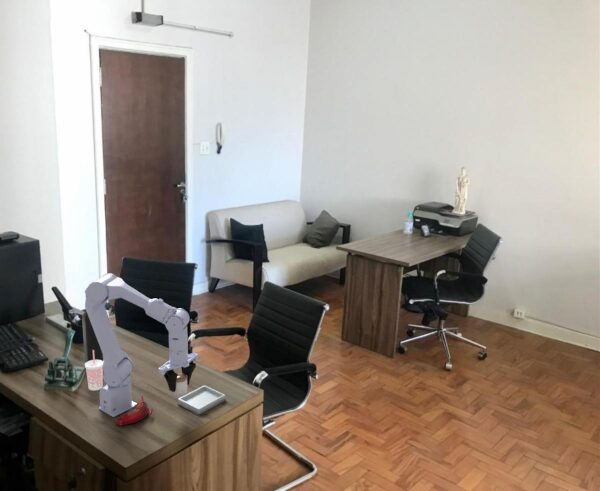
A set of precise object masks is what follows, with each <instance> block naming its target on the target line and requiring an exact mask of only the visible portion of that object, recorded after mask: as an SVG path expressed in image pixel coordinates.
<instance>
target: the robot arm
mask: <svg viewBox="0 0 600 491" xmlns="http://www.w3.org/2000/svg"><path fill="white" fill-rule="evenodd" d="M84 293H85V301H84V302H85V303H84V307H85V311H87V314H88V316H89V319H90V322H91V324H92V327H93V329H94V332H95V335H96V337H97V340H98V343H99V345H100V348H101V350H102V353H103V366H102V369H103V380H104V383H105V385H103V387H102V388H101V389H99V407H98V409H99V410H101V411H102V412H103V413H105V414H107V415H108V416H111V417H112V418H114V417H118V416H119V415H122V414H124V413H126V412H128V411H129V410H130V409H131V408H132V407H134V406H135V405H136V404H138V402H135V401H133V398H132V397H133V396H132V395H133V394H132V378H131V374H132V373H133V371H134V367H135V365H134V362H133V361H132V359H131V358H130V357H129V356H128V354H127V352H125V351H124V350H122V349H121V347H120V344H119V342H118V339H117V336H116V333H115V331H114V328H113V324H112V322H111V320H110V317H109V314H108V312H107V308H106V304H107V302H108V300H109V301H111V300H117V299H122V300H125V301H127V302H129V303H132V304H133V305H135V306H138V307H140V308H141V309H143V310H144V311H145V314H146V316H149V317H150V318H152V319H154V320H156V321H158V322H159V323H160V324H163V325H165V328H166V329H167V331H168V353H169V354H168V358H169V359H168V361H167V362H165V363H163V365H161V366H159V367H158V369H157V370H158V371H157V373H158V375H160V376H162V377H164V378H165V381H166V383H167V386H168V389H169V391H170V392H171V391H172V392H175V390H176V379H177V376H178V374H177V373H178V372H175V370H176V369H181V373H185V374H187V386H189V385H190V382H191V378H192V375H193V373H194V370H195V369H196V366H197V363H196V361H199V354H198V353H196V352H192V353H189V347H188V346H189V344H188V343H189V341H188V340H189V339H188V338H189V336H188V324H189V322H190V315H189V313H188V311H186V309H184V308H181V307H179V308H177V307H175V306H172V305H169V304H168V303H166V302H164V299H162V298H159V299H158V298H157V297H156V298H150V297H147V296H146V295H145V294H143V293H142V292H139V291H138V290H137V289H135V288H134V287H132V286H130V285H129V284H127V283H126V282H125V281H124V280H123V279H122V277H119V276H117V275H115V274H114V273H111V272H110V273H105V274H103V275H102V276H101V277H99V278H98V279H96V280H95V281H92V282H91V283H89V284H88V286H87V287H86V289H85V291H84ZM194 361H195V362H194Z"/></svg>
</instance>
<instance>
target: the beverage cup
mask: <svg viewBox="0 0 600 491" xmlns="http://www.w3.org/2000/svg"><path fill="white" fill-rule="evenodd" d="M103 361H104V360H103ZM103 361H102V360H95V356H94V350H93V360H90V361H88V362H86V363H85V362H84V368H85V372H86V377H87V385H88V387H87V388H88V390H89V391H100V389H101V388H103V387H104V385H103V384H104V382H103V380H104V379H103V375H104V372H103V369H102V366H103Z"/></svg>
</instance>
